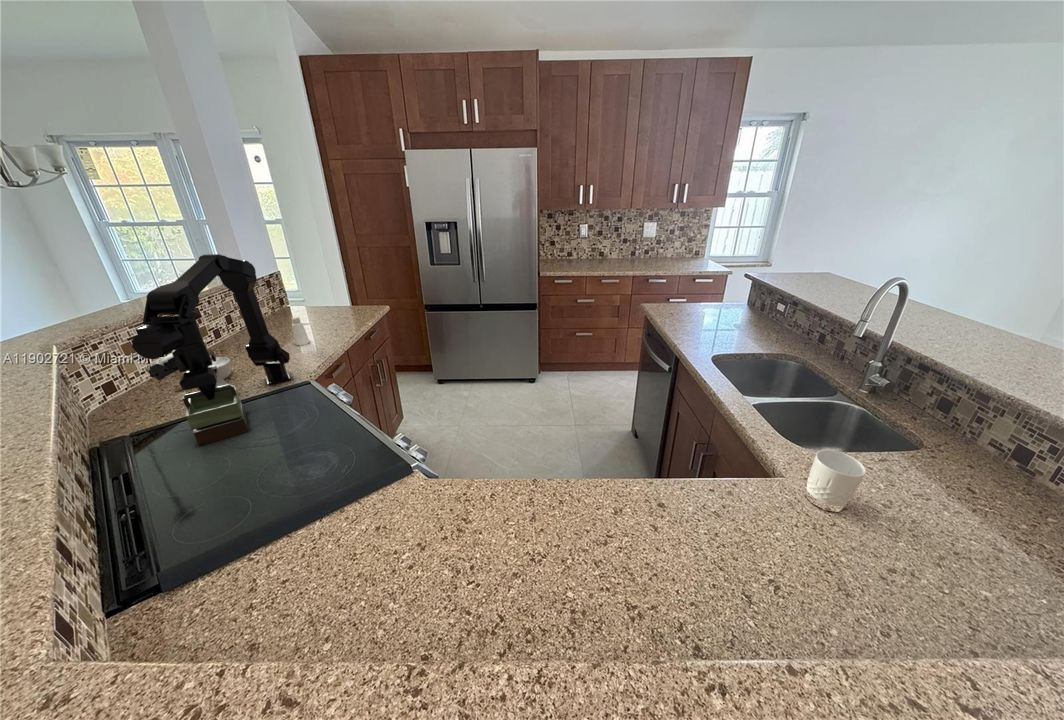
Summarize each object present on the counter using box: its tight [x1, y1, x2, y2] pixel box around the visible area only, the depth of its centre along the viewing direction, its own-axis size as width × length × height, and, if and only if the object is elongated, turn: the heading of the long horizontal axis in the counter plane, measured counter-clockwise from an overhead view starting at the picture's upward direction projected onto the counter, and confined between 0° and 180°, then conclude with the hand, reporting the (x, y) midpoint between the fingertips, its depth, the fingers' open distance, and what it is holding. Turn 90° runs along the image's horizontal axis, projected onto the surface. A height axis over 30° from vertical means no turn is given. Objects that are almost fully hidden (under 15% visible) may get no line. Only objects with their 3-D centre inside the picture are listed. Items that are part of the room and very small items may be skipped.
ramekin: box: [186, 356, 232, 380], centre depth 124 cm, size 11×11×5 cm
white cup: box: [805, 449, 867, 506], centre depth 74 cm, size 8×8×10 cm
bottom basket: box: [193, 401, 249, 447], centre depth 98 cm, size 11×10×4 cm
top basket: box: [181, 383, 242, 431], centre depth 95 cm, size 11×10×7 cm
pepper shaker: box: [291, 316, 310, 346], centre depth 151 cm, size 5×5×11 cm
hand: (211, 398), depth 95 cm, fingers closed on top basket
